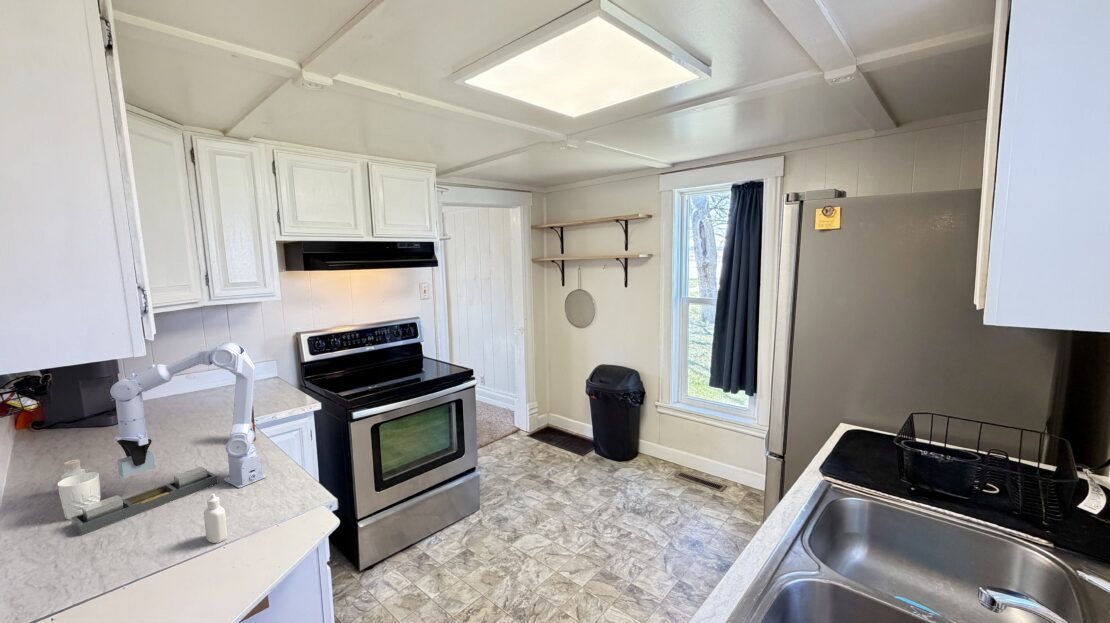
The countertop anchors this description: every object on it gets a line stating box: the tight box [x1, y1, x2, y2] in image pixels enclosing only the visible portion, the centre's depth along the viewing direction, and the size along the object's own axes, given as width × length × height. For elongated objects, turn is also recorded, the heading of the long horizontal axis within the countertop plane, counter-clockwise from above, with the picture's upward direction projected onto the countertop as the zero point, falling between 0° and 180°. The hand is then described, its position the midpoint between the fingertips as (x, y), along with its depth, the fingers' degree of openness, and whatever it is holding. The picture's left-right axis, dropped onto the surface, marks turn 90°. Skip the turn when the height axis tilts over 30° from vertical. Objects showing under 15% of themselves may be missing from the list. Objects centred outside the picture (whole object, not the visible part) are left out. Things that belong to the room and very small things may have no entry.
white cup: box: [56, 471, 101, 521], centre depth 123 cm, size 8×8×10 cm
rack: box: [70, 466, 219, 536], centre depth 128 cm, size 7×30×5 cm, turn 150°
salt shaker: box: [60, 458, 86, 481], centre depth 134 cm, size 4×4×10 cm
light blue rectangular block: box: [117, 450, 156, 479], centre depth 131 cm, size 4×7×4 cm, turn 149°
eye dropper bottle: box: [203, 493, 228, 544], centre depth 113 cm, size 4×6×12 cm
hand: (137, 462), depth 131 cm, fingers closed on light blue rectangular block, 3 cm apart
